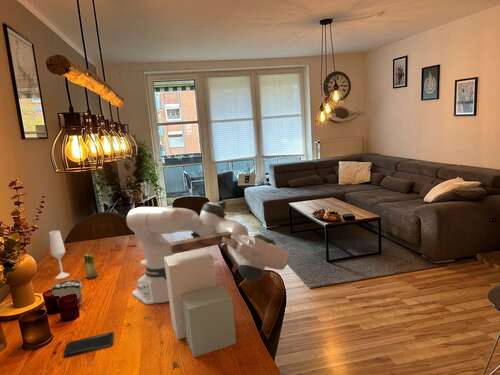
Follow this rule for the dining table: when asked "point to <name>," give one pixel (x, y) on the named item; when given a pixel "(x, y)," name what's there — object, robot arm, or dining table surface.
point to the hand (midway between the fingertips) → (219, 237)
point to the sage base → (208, 320)
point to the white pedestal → (187, 281)
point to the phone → (89, 344)
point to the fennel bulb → (90, 266)
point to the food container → (68, 289)
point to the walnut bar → (198, 242)
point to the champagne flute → (57, 250)
